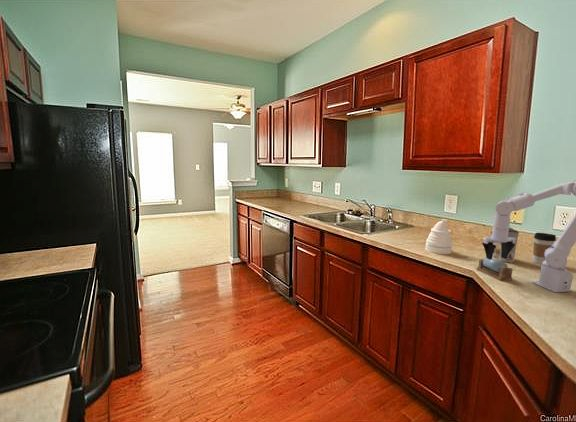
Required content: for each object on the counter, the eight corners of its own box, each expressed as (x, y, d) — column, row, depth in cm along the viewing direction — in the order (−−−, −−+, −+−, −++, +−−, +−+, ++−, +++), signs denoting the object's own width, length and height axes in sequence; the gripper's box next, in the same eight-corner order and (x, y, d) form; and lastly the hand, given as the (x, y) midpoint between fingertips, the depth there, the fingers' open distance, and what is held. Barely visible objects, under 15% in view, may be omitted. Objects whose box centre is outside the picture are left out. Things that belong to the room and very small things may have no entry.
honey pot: (456, 253, 164) (460, 221, 161) (437, 255, 161) (441, 222, 157) (438, 246, 176) (442, 216, 173) (420, 247, 173) (423, 217, 169)
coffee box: (491, 255, 162) (496, 226, 159) (505, 256, 160) (510, 227, 157) (500, 261, 153) (505, 230, 150) (514, 262, 151) (519, 231, 148)
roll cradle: (487, 269, 142) (489, 258, 141) (511, 279, 129) (513, 268, 128) (476, 269, 140) (478, 259, 140) (499, 280, 128) (501, 269, 127)
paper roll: (506, 273, 131) (508, 262, 130) (496, 274, 130) (498, 263, 129) (491, 267, 139) (493, 256, 138) (481, 267, 138) (483, 256, 137)
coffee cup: (543, 266, 147) (548, 236, 145) (525, 260, 155) (530, 232, 153) (555, 264, 150) (561, 235, 147) (537, 259, 158) (542, 231, 155)
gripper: (507, 226, 136) (502, 254, 139) (479, 226, 134) (474, 256, 136) (521, 229, 129) (516, 260, 132) (492, 230, 127) (487, 261, 129)
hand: (496, 258), depth 134 cm, fingers open, 7 cm apart
